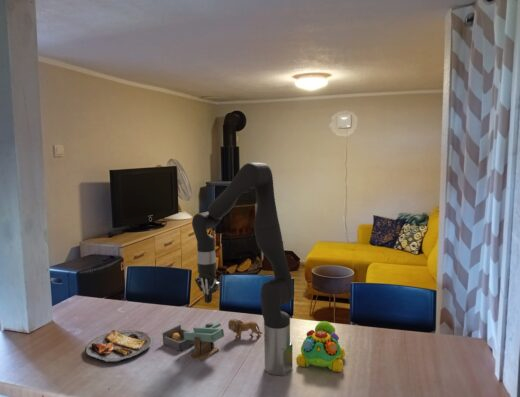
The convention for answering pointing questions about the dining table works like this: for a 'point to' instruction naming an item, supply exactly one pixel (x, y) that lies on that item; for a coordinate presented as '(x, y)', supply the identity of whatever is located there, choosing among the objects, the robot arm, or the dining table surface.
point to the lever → (206, 333)
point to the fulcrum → (203, 349)
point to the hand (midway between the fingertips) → (208, 302)
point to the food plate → (118, 344)
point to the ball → (175, 336)
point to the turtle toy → (322, 348)
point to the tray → (174, 344)
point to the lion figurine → (243, 327)
